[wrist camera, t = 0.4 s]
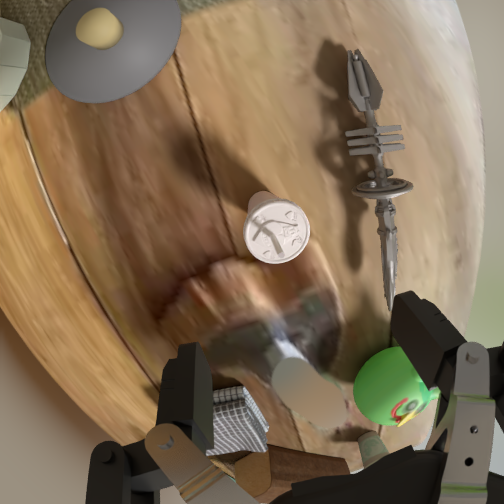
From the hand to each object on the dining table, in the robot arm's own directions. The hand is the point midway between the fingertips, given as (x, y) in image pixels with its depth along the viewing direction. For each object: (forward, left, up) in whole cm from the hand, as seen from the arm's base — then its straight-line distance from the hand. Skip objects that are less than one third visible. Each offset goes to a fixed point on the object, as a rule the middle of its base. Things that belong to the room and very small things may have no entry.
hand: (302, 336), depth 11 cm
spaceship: (-2, +16, -27) cm, 32 cm away
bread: (+75, +18, -27) cm, 81 cm away
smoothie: (+2, +2, -27) cm, 27 cm away
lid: (-20, -18, -27) cm, 38 cm away
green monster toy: (+32, +29, -27) cm, 52 cm away
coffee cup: (+65, +37, -27) cm, 80 cm away
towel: (+45, -2, -27) cm, 52 cm away
